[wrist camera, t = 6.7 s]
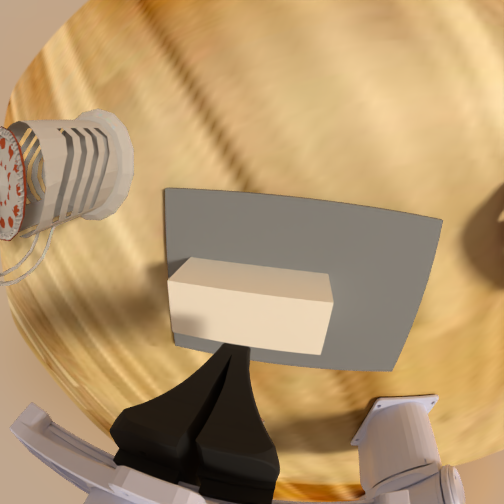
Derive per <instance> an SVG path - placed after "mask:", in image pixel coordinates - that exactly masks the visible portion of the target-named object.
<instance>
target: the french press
mask: <svg viewBox="0 0 504 504" xmlns="http://www.w3.org/2000/svg"><path fill="white" fill-rule="evenodd" d="M27 128H31V129H32V131H31V133H30V135H29V136H28V138H27V139H26V141H25V142H24V144H23V146H22V147H21V146H20V145H19V142H20V140H21V138H22V137H23V135H24V133H25V132H26V130H27ZM61 128H63V129H64V131H63V132H62V133H61V132H60V129H61ZM35 135H36V136H37V138H38V139H37V140H36V142H35V143H34V145H33V147H32V148H31V150H30V152H29V154H28V155H27V157H26V159H25V161H24V159H23V154H24V152H25V151H26V149H27V147H28V146H29V144H30V142H31V141H32V139H33V138H34V136H35ZM39 145H40V147H41V150H40V152H39V154H38V156H37V157H36V159H35V161H34V163H33V167H32V176H31V179H32V182H33V185H34V187H35V190H36V192H37V194H38V195H39V196H40V198H41V199H42V200H39V201H37V200H36V198H35V197H34V196H33V195H32V193H31V191H30V189H29V186H28V183H27V180H26V178H27V168H28V164H29V162H30V160H31V158H32V156H33V154H34V153H35V151H36V149H37V148H38V146H39ZM42 156H43V159H44V162H43V168H42V179H43V181H44V184H45V187H46V191H45V193H44V192H43V191H42V189H41V187H40V184H39V181H38V178H37V172H38V164H39V162H40V160H41V158H42ZM133 175H134V149H133V146H132V143H131V140H130V137H129V134H128V131H127V128H126V127H125V126H124V124H123V123H122V122H121V121H120V120H119V119H118V118H117V117H116V115H115V114H113V113H110V112H107V111H104V110H101V109H95V110H91V111H88V112H84V113H82V114H81V115H80V116H78V117H77V118H76V119H75V120H29V121H18V122H16V123H13V124H12V125H10V126H9V128H8V129H6V128H4V127H0V239H1V240H5V241H11V240H12V239H13V238H14V237H15V236H16V235H17V234H18V232H20V231H22V230H24V229H27V228H29V227H31V226H34V225H36V224H38V226H37V228H36V230H33V231H31V232H29V233H26V234H24V235H22V236H20V237H24V238H28V237H30V236H32V235H34V234H36V236H35V239H34V242H33V244H32V246H31V249H30V251H29V252H28V253H27V254H26V255H25V257H24V258H23V259H22V260H21V261H20V262H19V263H18V264H17V265H15V266H14V267H12V268H10V269H8V270H6V271H5V272H3V273H0V276H4V275H6V274H8V273H10V272H11V271H13V270H15V269H17V268H18V267H19V266H20V265H21V264H22V263H23V262H24V261H25V260H26V258H27V257H28V256H29V255H30V254H31V253H32V251H33V249H34V247H35V244H36V242H37V240H38V236H39V233H40V232H41V231H43V230H46V229H48V228H50V227H52V228H51V231H50V235H49V238H48V241H47V245H46V247H45V249H44V252H43V254H42V257H41V258H40V259H39V261H38V262H37V263H36V265H35V266H34V267H32V268H31V269H30V270H29V271H28V272H27V273H25V274H24V275H22V276H21V277H19V278H17V279H16V280H14V281H8V282H3V281H0V286H9V285H13V284H16V283H18V282H19V281H21V280H22V279H24V278H25V277H27V276H28V275H30V274H31V273H32V272H33V271H34V270H35V269H36V267H37V266H38V265H39V264H40V262H41V261H42V260H43V259H44V256H45V254H46V252H47V250H48V248H49V245H50V242H51V238H52V235H53V231H54V229H55V227H56V226H58V225H60V224H62V223H65V222H67V221H69V220H72V219H74V218H76V217H79V216H81V217H82V218H84V219H86V220H102V219H104V218H106V217H108V216H110V215H112V214H114V213H115V212H116V211H117V210H118V208H119V207H120V205H121V204H122V203H123V201H124V200H125V199H126V197H127V195H128V192H129V188H130V185H131V182H132V178H133ZM26 197H27V198H28V199H29V201H30V202H31V203H30V204H26ZM70 211H72V214H71V215H70V216H67V217H66V214H67V212H70ZM59 215H60V216H59ZM57 216H59V220H57V221H55V222H53V218H54V217H57Z"/></svg>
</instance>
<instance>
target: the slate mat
mask: <svg viewBox="0 0 504 504" xmlns="http://www.w3.org/2000/svg"><path fill="white" fill-rule="evenodd" d="M165 218H166V245H167V263H168V278H170V277H171V276H172V275H173V274H174V273H175V272H176V271H177V270H178V269H179V268H180V267H181V266H182V265H183V264H184V263H185V262H186V261H187V260H188V259H189V258H190V257H194V258H201V259H209V260H217V261H225V262H233V263H241V264H249V265H257V266H266V267H274V268H282V269H291V270H299V271H308V272H317V273H326V274H328V275H329V281H330V286H331V291H332V296H333V302H334V303H333V308H332V312H331V316H330V321H329V325H328V329H327V333H326V337H325V340H324V344H323V348H322V352H321V355H314V354H304V353H295V352H286V351H278V350H270V349H263V348H256V347H250V349H251V352H250V360H253V361H259V362H266V363H274V364H282V365H290V366H299V367H310V368H321V369H335V370H352V371H392V370H393V368H394V366H395V364H396V362H397V360H398V357H399V355H400V353H401V351H402V348H403V346H404V344H405V342H406V339H407V337H408V334H409V332H410V329H411V327H412V324H413V322H414V319H415V317H416V314H417V311H418V308H419V306H420V303H421V300H422V297H423V294H424V291H425V288H426V285H427V281H428V278H429V275H430V271H431V268H432V264H433V261H434V257H435V253H436V249H437V245H438V241H439V237H440V232H441V228H442V223H443V220H441V219H437V218H432V217H427V216H422V215H417V214H411V213H406V212H400V211H394V210H388V209H382V208H376V207H370V206H363V205H356V204H349V203H342V202H335V201H327V200H319V199H311V198H302V197H293V196H283V195H273V194H262V193H250V192H238V191H224V190H207V189H188V188H165ZM174 338H175V346H180V347H184V348H189V349H193V350H198V351H203V352H208V353H213V354H214V353H215V352H216V351H217V350H218V349H219V348H220V347H221V345H222V344H223V343H225V342H220V341H214V340H209V339H204V338H199V337H194V336H189V335H184V334H180V333H175V332H174ZM230 344H231V343H230ZM235 345H237V344H235ZM242 346H243V345H242ZM248 347H249V346H248Z"/></svg>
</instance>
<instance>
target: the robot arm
mask: <svg viewBox="0 0 504 504" xmlns="http://www.w3.org/2000/svg"><path fill="white" fill-rule="evenodd" d="M250 352H251V349H250V347H248V346H242V345H235V344H230V343H223V344H222V345H221V347H220V348H219V349H218V350H217V351H216V352H215V353H214V355H213V356H212V357H211V358H210V359H209V360H208V361H207V362H206V363H205V364H204V365H203V366H202V367H200V368H199V369H198V370H197V371H196V372H195V373H193V374H192V375H191V376H190V377H189V378H187V379H186V380H185V381H183V382H182V383H180V384H179V385H177V386H176V387H174V388H173V389H171V390H169V391H168V392H166V393H164V394H162V395H160V396H158V397H156V398H154V399H152V400H149V401H147V402H145V403H142V404H139V405H136V406H133V407H130V408H126V409H124V410H123V411H122V412H121V414H120V415H119V416H118V417H117V419H116V420H115V422H114V423H113V425H112V427H111V428H110V434H111V436H112V438H113V439H114V441H115V443H116V444H117V446H118V447H119V450H118V452H117V453H116V455H115V456H113V455H111V454H109V453H107V452H105V451H103V450H101V449H99V448H97V447H95V446H93V445H91V444H89V443H88V442H86V441H84V440H82V439H80V438H79V437H77V436H75V435H74V434H72V433H70V432H69V431H67V430H65V429H64V428H62V427H60V426H59V425H58V424H56V423H54V422H53V421H52V419H51V418H50V416H49V415H48V414H47V413H46V412H45V411H44V410H43V409H41V408H40V407H38V406H37V405H35V404H34V403H33V402H31V403H30V404H29V405H28V407H27V408H26V409H25V410H24V411H23V412H22V413H21V415H20V416H19V417H18V418H17V419H16V421H15V422H14V423H13V424H12V425H11V427H10V430H11V431H12V432H13V434H14V435H15V436H16V437H17V438H18V439H19V440H20V442H22V444H23V445H24V446H25V447H26V448H27V449H28V450H29V451H30V452H31V453H32V454H33V455H35V456H36V457H37V458H38V459H40V460H41V461H42V462H43V463H45V464H46V465H47V466H49V467H50V468H51V469H53V470H54V471H55V472H57V473H58V474H59V475H61V476H62V477H64V478H65V479H66V480H68V481H69V482H71V483H73V484H74V485H75V486H77V487H78V488H80V489H81V490H83V491H85V492H86V493H88V494H89V495H88V497H87V499H86V501H85V502H84V504H465V494H464V489H463V485H462V482H461V478H460V476H459V473H458V471H457V469H456V468H455V467H454V466H450V465H445V466H442V464H441V460H440V456H439V452H438V448H437V445H436V441H435V437H434V434H433V431H432V427H431V424H430V421H429V417H428V413H429V412H430V410H431V409H432V408H433V406H434V405H435V403H436V402H437V400H438V399H439V396H438V395H426V396H413V397H392V398H379V399H377V400H376V401H375V403H374V405H373V407H372V408H371V410H370V412H369V413H368V415H367V417H366V418H365V420H364V422H363V423H362V425H361V427H360V428H359V430H358V431H357V433H356V435H355V436H354V438H353V439H352V441H351V445H358V452H359V467H360V482H361V485H362V487H363V489H364V490H365V491H366V498H365V499H364V500H361V501H348V502H293V501H279V500H272V499H273V493H274V490H275V485H276V480H277V478H278V476H279V473H280V465H279V460H278V456H277V452H276V448H275V445H274V444H273V442H272V440H271V439H270V437H269V435H268V433H267V431H266V429H265V427H264V425H263V422H262V420H261V417H260V415H259V412H258V409H257V406H256V403H255V400H254V396H253V392H252V387H251V381H250V373H249V365H250ZM200 484H201V485H200Z"/></svg>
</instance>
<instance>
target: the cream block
mask: <svg viewBox="0 0 504 504" xmlns="http://www.w3.org/2000/svg"><path fill="white" fill-rule="evenodd" d="M167 282H168V294H169V305H170V314H171V323H172V332H175V333H180V334H184V335H189V336H194V337H199V338H204V339H209V340H214V341H220V342H225V343H231V344H237V345H243V346H249V347H256V348H263V349H270V350H278V351H286V352H295V353H304V354H314V355H321V352H322V348H323V344H324V340H325V337H326V333H327V329H328V325H329V321H330V316H331V312H332V308H333V303H334V302H333V296H332V291H331V286H330V281H329V275H328V274H326V273H317V272H308V271H299V270H291V269H282V268H274V267H266V266H257V265H249V264H241V263H233V262H225V261H217V260H209V259H201V258H194V257H190V258H189V259H188V260H187V261H186V262H185V263H184V264H183V265H182V266H181V267H180V268H179V269H178V270H177V271H176V272H175V273H174V274H173V275H172V276H171V277H170V278H169V279H168V280H167Z"/></svg>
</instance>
